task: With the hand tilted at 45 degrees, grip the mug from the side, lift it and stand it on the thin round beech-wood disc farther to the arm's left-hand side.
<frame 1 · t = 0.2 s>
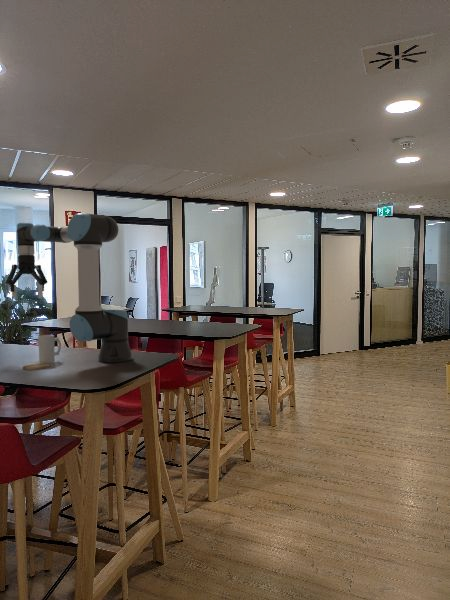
hand: (27, 298, 227), 27 cm above the table, tool pointing down, fingers open, 13 cm apart
mug: (50, 362, 207), on the table
stand: (36, 367, 196), on the table
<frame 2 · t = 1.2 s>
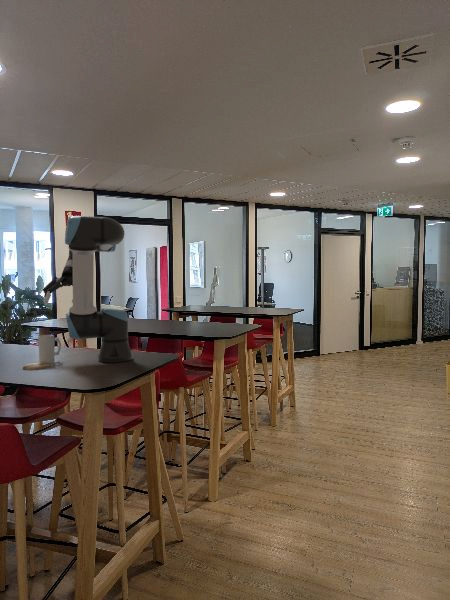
hand: (59, 303, 215), 26 cm above the table, tool tilted 45°, fingers open, 13 cm apart
nothing on the table moved.
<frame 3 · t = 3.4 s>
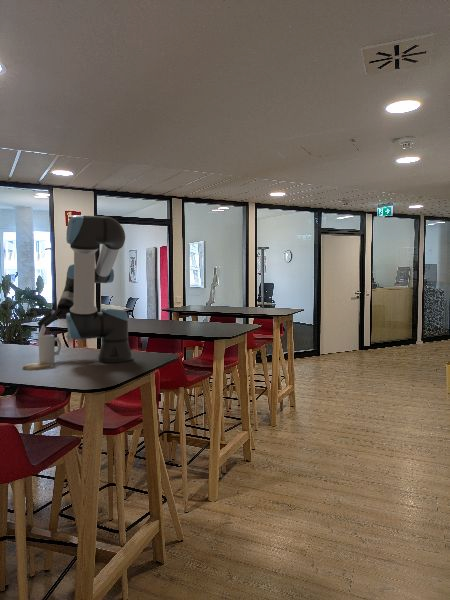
hand: (53, 338, 212), 10 cm above the table, tool tilted 45°, fingers open, 13 cm apart
nothing on the table moved.
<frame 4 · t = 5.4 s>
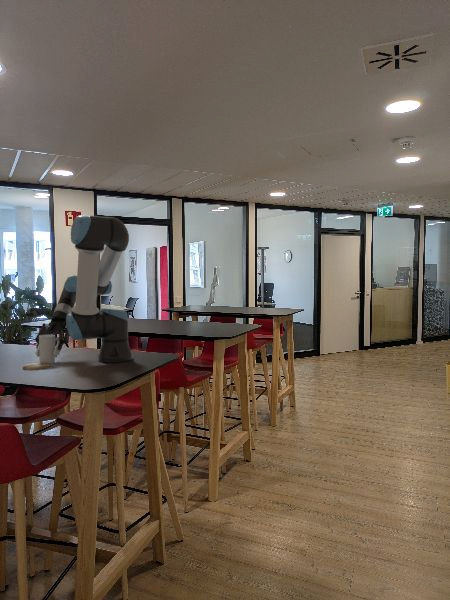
hand: (45, 355, 203), 4 cm above the table, tool tilted 45°, fingers closed on mug, 7 cm apart
mug: (50, 362, 207), on the table, touching gripper
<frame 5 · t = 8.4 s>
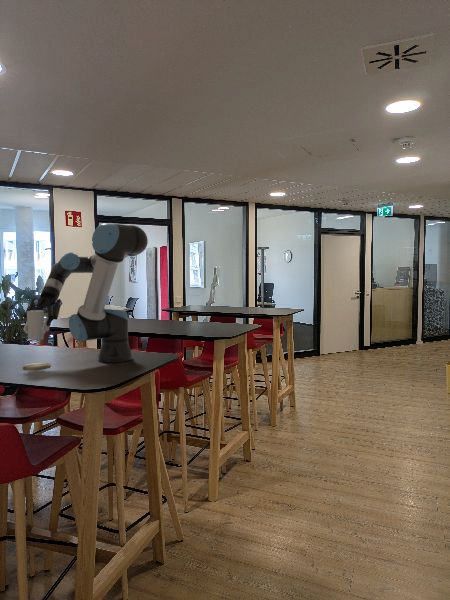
hand: (34, 331, 195), 15 cm above the table, tool tilted 45°, fingers closed on mug, 7 cm apart
mug: (39, 338, 199), point 12 cm above the table, touching gripper
when the fingers open (6 cm above the table, at t = 11.5 s): mug drops 1 cm, resting on stand.
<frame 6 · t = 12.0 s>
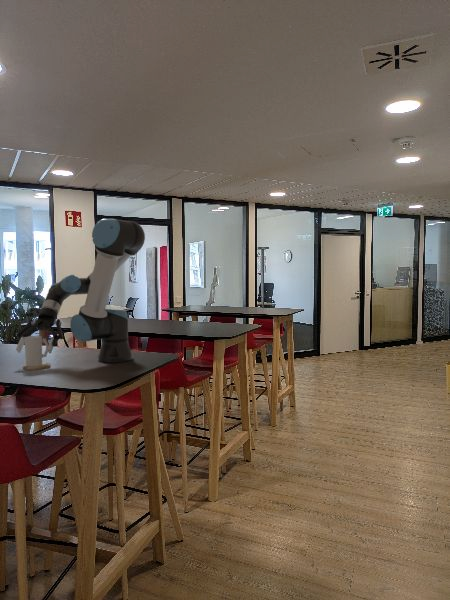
hand: (33, 351, 193), 7 cm above the table, tool tilted 45°, fingers open, 13 cm apart
mug: (37, 365, 196), point 1 cm above the table, touching stand
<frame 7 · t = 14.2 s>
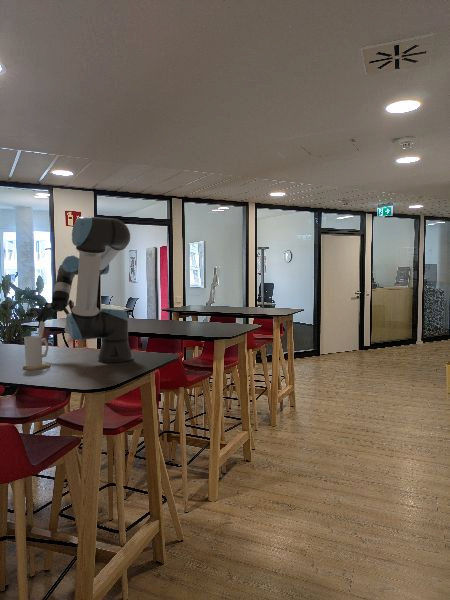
hand: (53, 333, 213), 12 cm above the table, tool tilted 35°, fingers open, 13 cm apart
nothing on the table moved.
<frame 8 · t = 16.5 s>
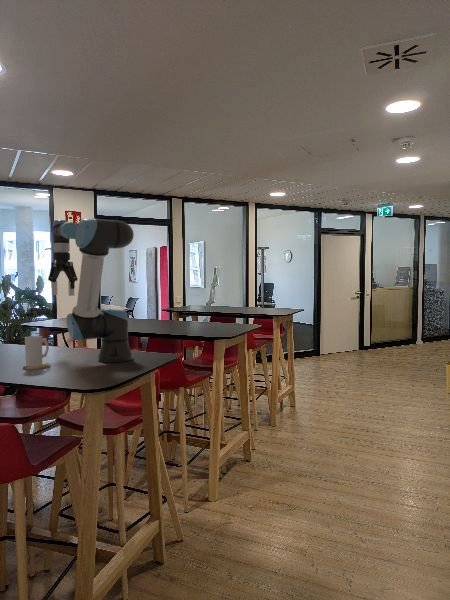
hand: (63, 295, 228), 29 cm above the table, tool pointing down, fingers open, 13 cm apart
nothing on the table moved.
at the end: mug 0.4 cm from the stand (horizontally); mug point 0.8 cm above the table; mug tilted 1° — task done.
